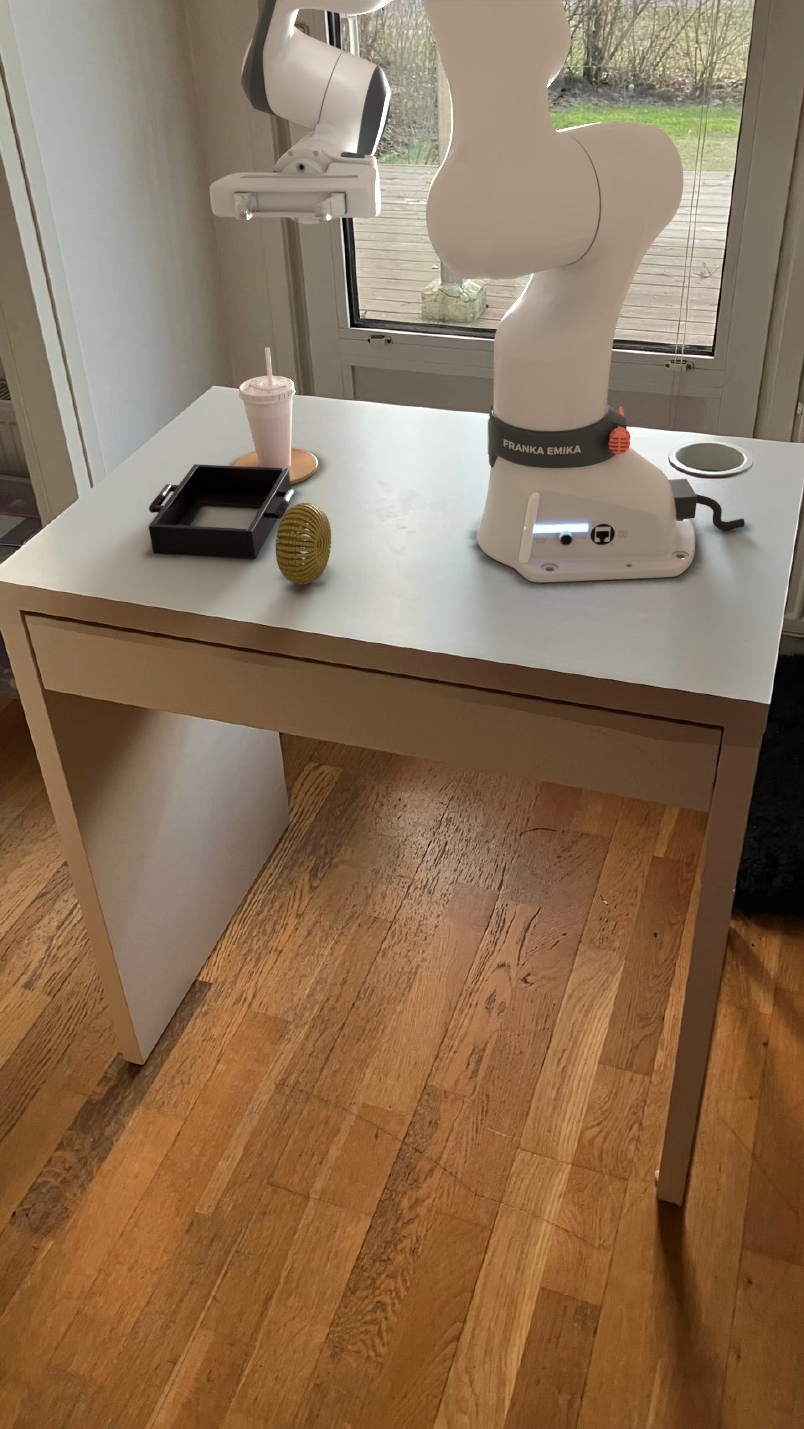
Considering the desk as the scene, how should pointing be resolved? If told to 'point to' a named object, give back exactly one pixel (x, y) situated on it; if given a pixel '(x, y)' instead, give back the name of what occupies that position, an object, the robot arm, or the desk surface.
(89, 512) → the desk surface
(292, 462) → the cork pad
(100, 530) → the desk surface
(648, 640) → the desk surface
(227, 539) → the pan
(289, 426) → the smoothie
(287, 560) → the sculpture
